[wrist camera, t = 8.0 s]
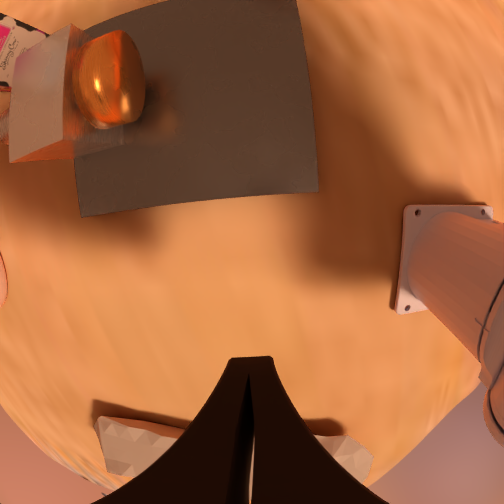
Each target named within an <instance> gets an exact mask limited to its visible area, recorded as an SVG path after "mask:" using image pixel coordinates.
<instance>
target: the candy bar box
mask: <svg viewBox="0 0 504 504" xmlns="http://www.w3.org/2000/svg"><path fill="white" fill-rule="evenodd" d="M48 36H50V35H49V34H46V33H44V32H43V31H40V30H38V29H37V28H34V27H32V26H30V25H28V24H25V23H23V22H21V21H19V20H16V19H14V18H12V17H10V16H7V15H4V14H2V13H0V91H11V89H12V80H13V73H14V67H15V61H16V58H17V57H18V56H19V55H21V54H22V53H24V52H25V51H27V50H28V49H29V48H31V47H32V46H34V45H35V44H37V43H39V42H40V41H42V40H43V39H45V38H47V37H48Z"/></svg>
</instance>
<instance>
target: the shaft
mask: <svg viewBox="0 0 504 504" xmlns="http://www.w3.org/2000/svg"><path fill="white" fill-rule="evenodd" d="M72 83H73V90H74V95H75V99H76V108H75V109H78V110H80V111H81V113H82V114H83V116H84V117H85V119H86V120H87V121H88V122H89V123H90V124H91V125H92V126H94V127H96V128H98V129H103V130H104V129H109V128H112V127H116V126H119V125H123V124H127V123H131V122H134V121H136V120H137V119H138V118H139V116H140V115H141V112H142V110H143V106H144V101H145V75H144V69H143V64H142V60H141V56H140V54H139V51H138V48H137V46H136V44H135V43H134V41H133V39H132V38H131V37H130V36H129V35H128V34H127V33H126V32H124V31H121V30H116V31H113V32H110V33H108V34H105V35H103V36H100V37H98V38H95V39H93V40H91V41H89V42H87V43H85V44H84V45H83V46H82V47H81V48H80V49H79V51H78V53H77V55H76V57H75V60H74V64H73V71H72ZM9 112H10V108H9V109H8V110H6V111H5V112H3V113H2V114H1V116H0V140H1V141H2V142H3V143H4V144H6V145H9Z"/></svg>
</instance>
